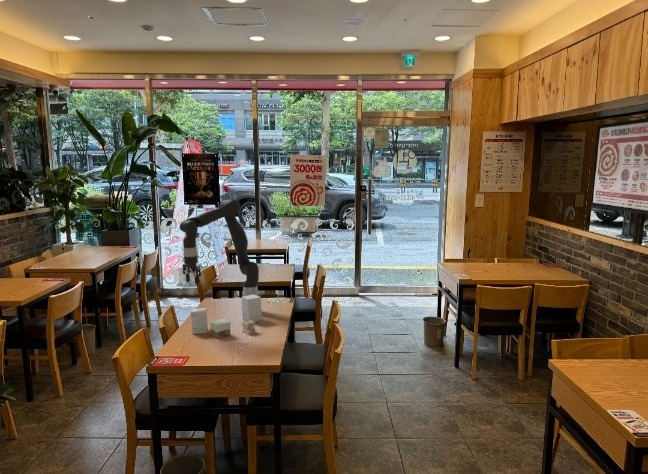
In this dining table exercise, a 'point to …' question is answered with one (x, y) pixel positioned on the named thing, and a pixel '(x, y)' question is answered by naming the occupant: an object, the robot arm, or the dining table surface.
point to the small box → (199, 321)
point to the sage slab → (220, 325)
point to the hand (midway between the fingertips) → (192, 282)
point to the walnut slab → (220, 333)
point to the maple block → (248, 327)
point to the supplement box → (251, 308)
